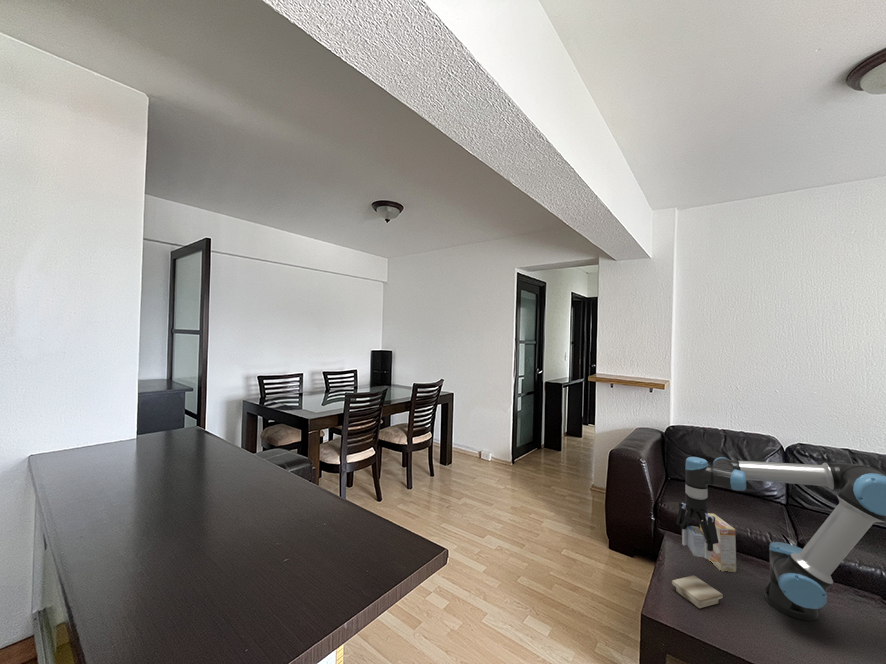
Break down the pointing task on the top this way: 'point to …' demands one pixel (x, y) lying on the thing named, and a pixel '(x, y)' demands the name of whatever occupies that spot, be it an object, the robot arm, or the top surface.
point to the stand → (697, 591)
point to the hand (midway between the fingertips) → (696, 550)
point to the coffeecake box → (723, 546)
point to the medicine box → (695, 540)
